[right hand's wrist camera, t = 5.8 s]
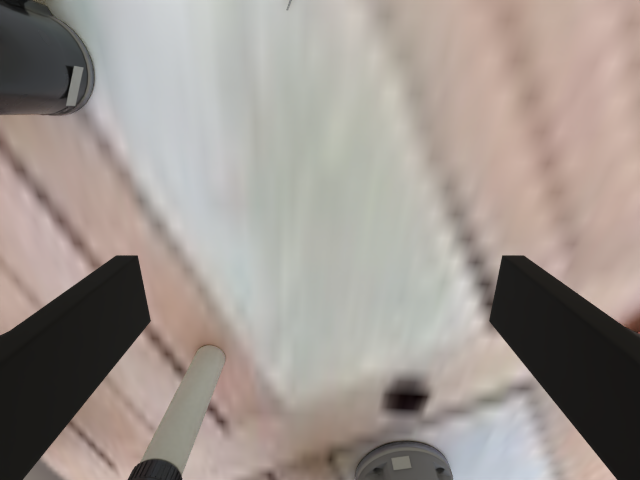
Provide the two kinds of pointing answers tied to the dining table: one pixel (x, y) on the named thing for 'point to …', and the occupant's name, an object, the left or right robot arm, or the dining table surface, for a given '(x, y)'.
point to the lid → (155, 471)
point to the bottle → (187, 409)
